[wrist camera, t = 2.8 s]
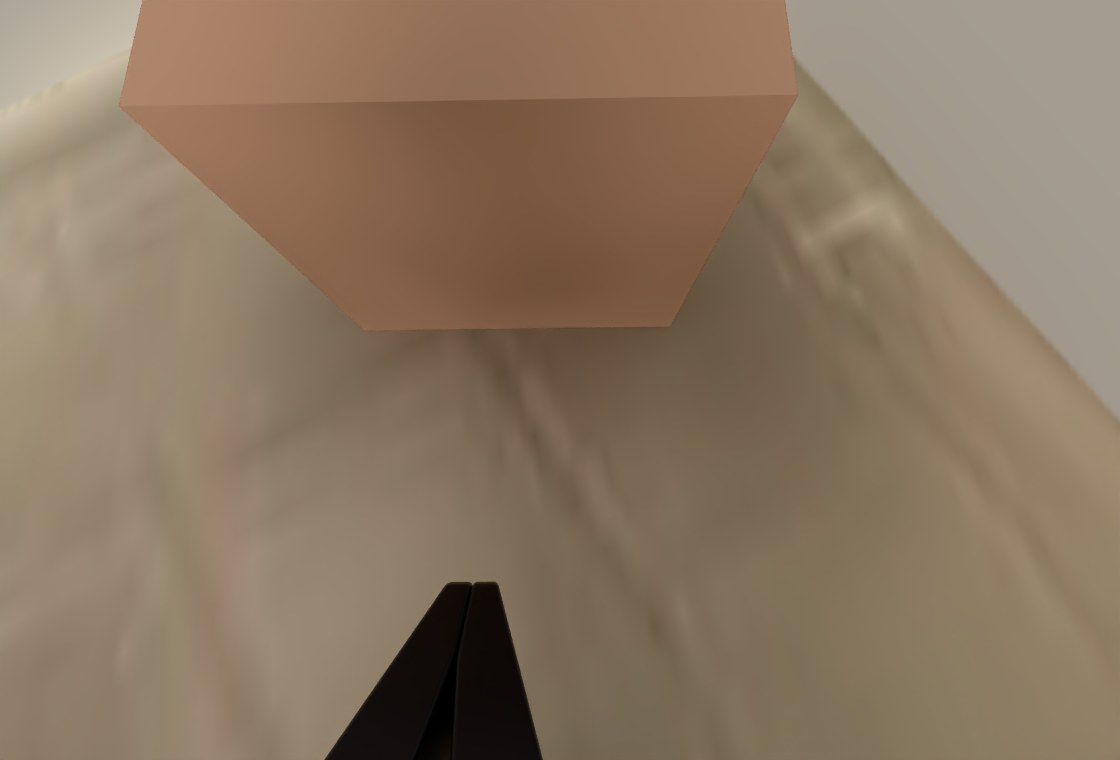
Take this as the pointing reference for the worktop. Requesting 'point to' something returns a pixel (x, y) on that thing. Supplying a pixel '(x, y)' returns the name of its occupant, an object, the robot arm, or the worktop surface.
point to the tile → (473, 144)
